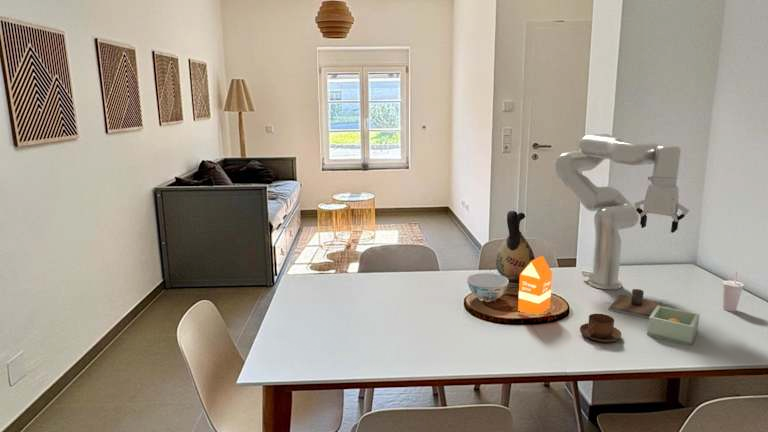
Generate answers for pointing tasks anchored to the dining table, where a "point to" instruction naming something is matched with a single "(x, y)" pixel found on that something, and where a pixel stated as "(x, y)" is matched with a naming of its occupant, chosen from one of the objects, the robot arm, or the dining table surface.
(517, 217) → the ceramic jug
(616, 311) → the mat
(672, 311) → the dish
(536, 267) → the orange juice
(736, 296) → the smoothie
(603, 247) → the robot arm
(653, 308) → the lid
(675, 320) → the clementine
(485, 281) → the chinaware
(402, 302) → the dining table surface
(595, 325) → the cup and saucer
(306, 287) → the dining table surface
